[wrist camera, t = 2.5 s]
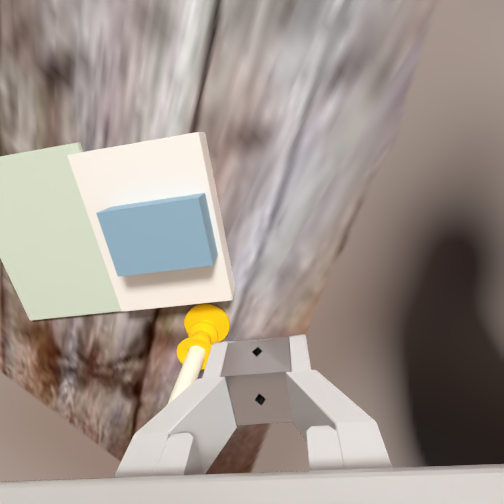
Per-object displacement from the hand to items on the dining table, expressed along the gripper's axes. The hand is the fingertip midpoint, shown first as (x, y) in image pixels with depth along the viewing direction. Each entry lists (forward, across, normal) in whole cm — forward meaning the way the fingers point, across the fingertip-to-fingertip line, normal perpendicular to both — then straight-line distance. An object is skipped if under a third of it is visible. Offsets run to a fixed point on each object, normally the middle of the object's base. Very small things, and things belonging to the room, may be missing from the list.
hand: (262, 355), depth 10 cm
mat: (+21, +24, 0) cm, 32 cm away
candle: (+21, +9, +12) cm, 26 cm away
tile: (+19, +10, 0) cm, 21 cm away
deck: (+21, +11, 0) cm, 24 cm away
